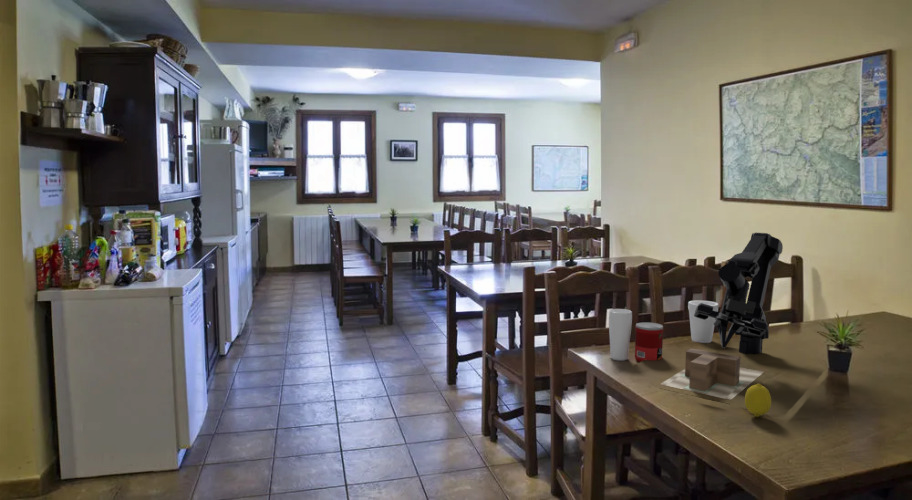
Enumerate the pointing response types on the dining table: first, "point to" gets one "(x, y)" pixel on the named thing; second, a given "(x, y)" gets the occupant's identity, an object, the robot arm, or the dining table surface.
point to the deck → (717, 389)
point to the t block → (711, 369)
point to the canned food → (648, 341)
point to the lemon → (758, 400)
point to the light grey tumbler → (619, 333)
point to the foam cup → (701, 322)
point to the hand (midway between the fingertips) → (723, 347)
